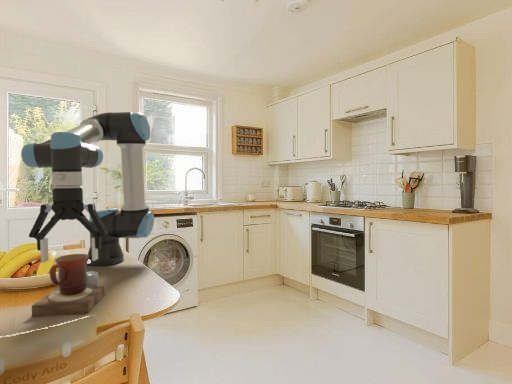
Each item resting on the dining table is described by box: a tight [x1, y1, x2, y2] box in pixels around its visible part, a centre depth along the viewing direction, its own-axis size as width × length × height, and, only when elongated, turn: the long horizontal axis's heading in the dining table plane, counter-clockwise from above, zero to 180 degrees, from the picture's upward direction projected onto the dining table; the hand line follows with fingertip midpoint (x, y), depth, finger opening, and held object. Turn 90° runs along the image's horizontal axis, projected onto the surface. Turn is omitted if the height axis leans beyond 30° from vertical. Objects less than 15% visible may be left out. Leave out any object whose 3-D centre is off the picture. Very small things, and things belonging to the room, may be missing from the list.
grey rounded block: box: [87, 270, 99, 287], centre depth 112 cm, size 7×7×4 cm
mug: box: [49, 253, 89, 295], centre depth 94 cm, size 12×9×10 cm
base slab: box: [31, 285, 105, 318], centre depth 94 cm, size 14×14×3 cm
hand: (70, 260), depth 94 cm, fingers open, 13 cm apart
